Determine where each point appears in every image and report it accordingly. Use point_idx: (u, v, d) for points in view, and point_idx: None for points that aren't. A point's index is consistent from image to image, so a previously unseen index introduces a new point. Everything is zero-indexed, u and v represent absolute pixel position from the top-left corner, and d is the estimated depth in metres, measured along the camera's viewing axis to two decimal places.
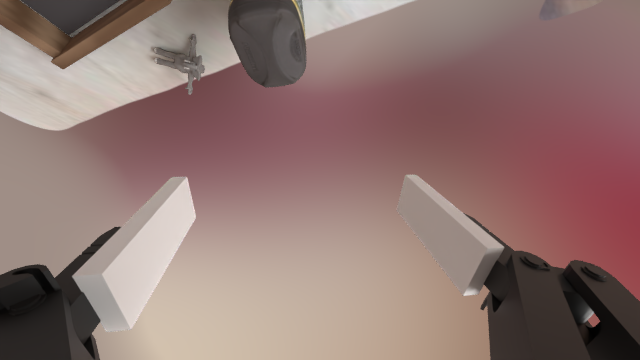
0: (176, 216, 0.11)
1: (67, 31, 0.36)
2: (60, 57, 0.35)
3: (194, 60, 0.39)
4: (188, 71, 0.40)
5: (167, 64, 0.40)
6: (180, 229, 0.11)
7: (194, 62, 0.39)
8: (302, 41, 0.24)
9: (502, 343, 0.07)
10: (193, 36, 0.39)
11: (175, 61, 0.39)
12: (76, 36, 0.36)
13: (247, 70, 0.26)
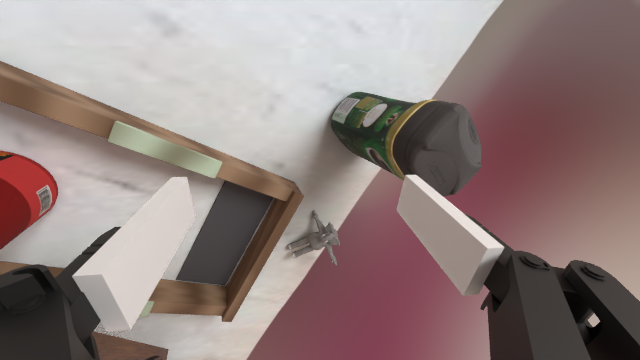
0: (176, 216, 0.11)
1: (224, 282, 0.38)
2: (229, 311, 0.35)
3: (327, 230, 0.38)
4: (325, 244, 0.38)
5: (305, 251, 0.39)
6: (180, 229, 0.11)
7: (328, 231, 0.37)
8: (473, 123, 0.21)
9: (502, 343, 0.07)
10: (314, 212, 0.39)
11: (311, 243, 0.38)
12: (231, 282, 0.38)
13: None
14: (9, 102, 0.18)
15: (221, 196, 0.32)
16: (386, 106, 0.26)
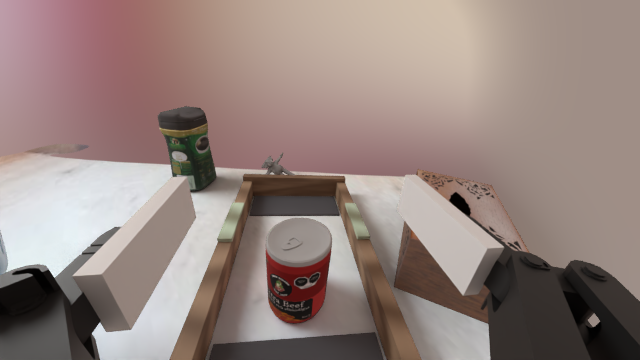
0: (176, 216, 0.11)
1: (331, 197, 0.56)
2: (336, 178, 0.54)
3: (266, 166, 0.61)
4: (275, 163, 0.62)
5: (287, 171, 0.61)
6: (180, 229, 0.11)
7: (266, 164, 0.61)
8: None
9: (502, 343, 0.07)
10: None
11: (278, 169, 0.60)
12: (327, 192, 0.56)
13: (201, 113, 0.51)
14: (218, 277, 0.29)
15: (267, 213, 0.48)
16: (172, 152, 0.50)
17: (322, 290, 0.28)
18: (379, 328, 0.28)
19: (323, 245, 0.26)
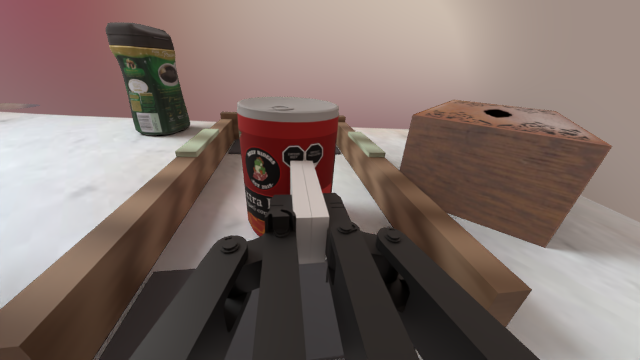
0: None
1: None
2: None
3: None
4: None
5: None
6: None
7: None
8: None
9: (342, 317, 0.07)
10: None
11: None
12: None
13: (165, 34, 0.41)
14: (168, 184, 0.19)
15: None
16: (129, 81, 0.39)
17: (326, 190, 0.19)
18: None
19: (326, 109, 0.17)
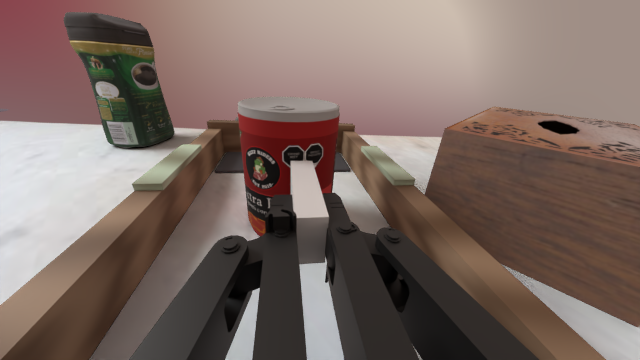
0: None
1: (336, 153, 0.40)
2: (342, 125, 0.39)
3: None
4: None
5: None
6: None
7: None
8: None
9: (341, 317, 0.07)
10: None
11: None
12: None
13: (140, 28, 0.34)
14: (103, 248, 0.12)
15: (242, 169, 0.31)
16: (96, 84, 0.33)
17: (326, 191, 0.19)
18: None
19: (327, 109, 0.17)
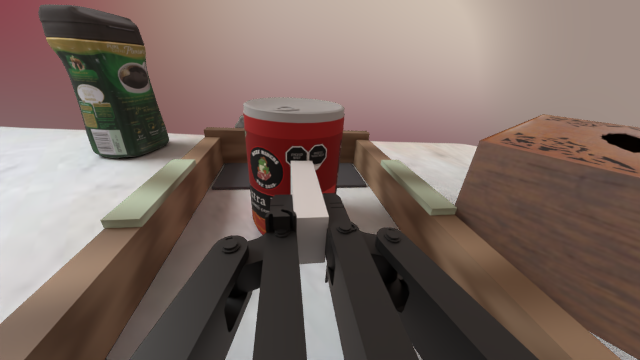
0: None
1: (348, 163, 0.36)
2: (355, 132, 0.35)
3: (242, 125, 0.40)
4: None
5: None
6: None
7: (242, 122, 0.40)
8: None
9: (341, 317, 0.07)
10: None
11: None
12: (341, 157, 0.36)
13: (129, 24, 0.30)
14: (37, 340, 0.08)
15: (243, 185, 0.27)
16: (78, 87, 0.29)
17: (330, 192, 0.19)
18: None
19: (331, 110, 0.17)
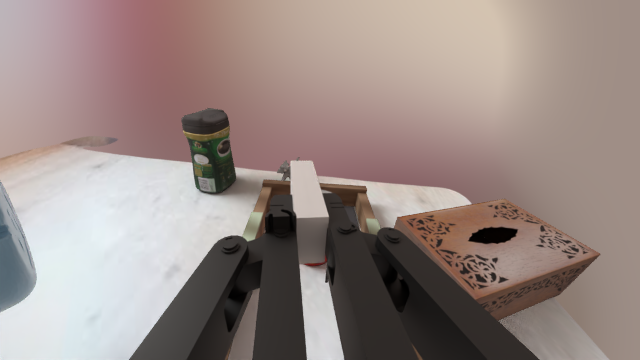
0: None
1: (351, 207, 0.54)
2: (357, 188, 0.52)
3: (282, 171, 0.59)
4: None
5: None
6: None
7: (282, 169, 0.59)
8: None
9: (341, 317, 0.07)
10: None
11: None
12: (347, 202, 0.54)
13: (223, 116, 0.50)
14: None
15: None
16: (195, 155, 0.50)
17: None
18: None
19: None
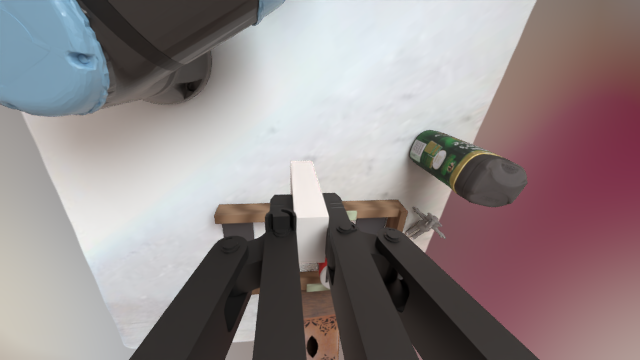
0: None
1: None
2: None
3: (428, 218, 0.53)
4: (431, 227, 0.54)
5: (419, 234, 0.56)
6: None
7: (429, 219, 0.53)
8: (508, 162, 0.32)
9: (341, 317, 0.07)
10: (414, 208, 0.55)
11: (421, 229, 0.55)
12: None
13: (491, 206, 0.35)
14: None
15: (358, 222, 0.55)
16: (445, 154, 0.39)
17: None
18: None
19: None
